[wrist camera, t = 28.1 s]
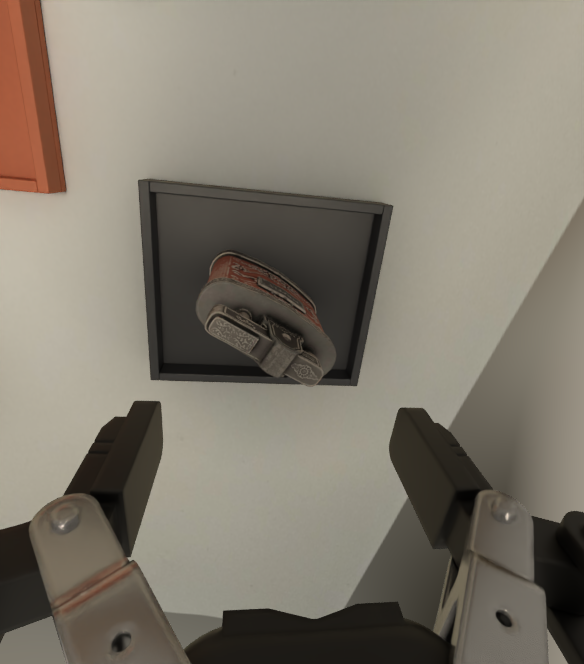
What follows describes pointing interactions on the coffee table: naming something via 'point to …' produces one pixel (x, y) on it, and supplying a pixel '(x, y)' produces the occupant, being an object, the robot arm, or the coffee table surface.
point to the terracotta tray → (27, 103)
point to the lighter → (265, 318)
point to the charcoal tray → (272, 249)
